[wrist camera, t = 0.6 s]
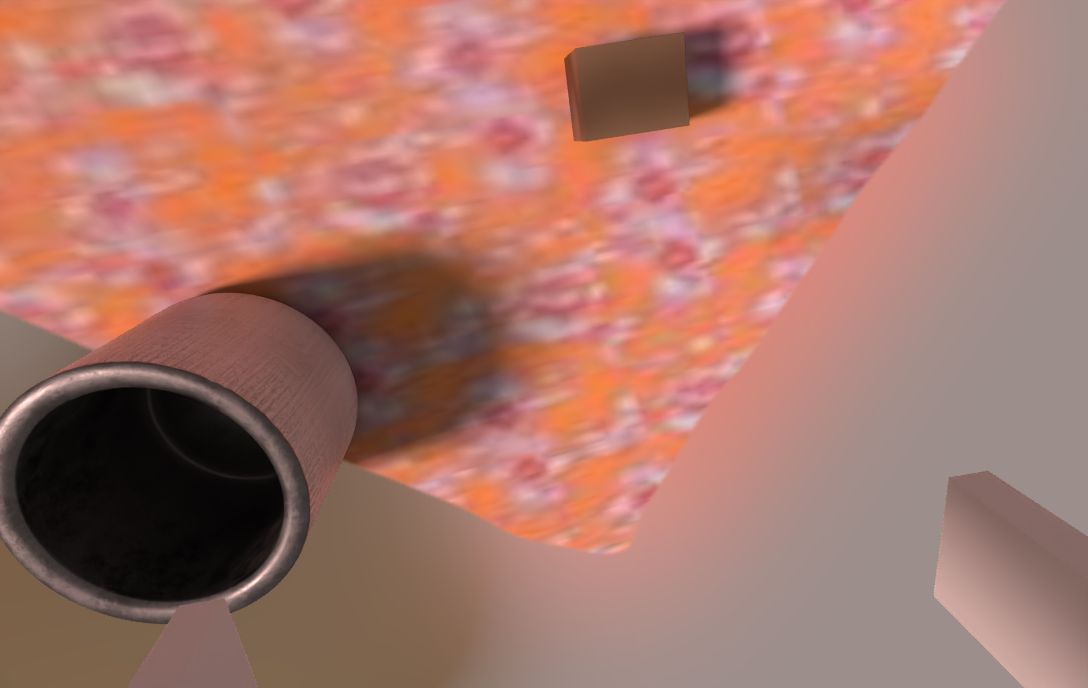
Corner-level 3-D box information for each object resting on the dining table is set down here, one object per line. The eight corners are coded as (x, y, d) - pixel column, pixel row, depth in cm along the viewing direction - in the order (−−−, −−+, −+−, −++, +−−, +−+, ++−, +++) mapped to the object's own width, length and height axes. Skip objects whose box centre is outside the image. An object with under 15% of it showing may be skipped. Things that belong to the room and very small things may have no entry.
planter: (373, 309, 34) (326, 387, 23) (349, 499, 38) (299, 640, 27) (132, 268, 32) (-39, 333, 21) (132, 473, 36) (-13, 615, 25)
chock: (563, 58, 31) (575, 48, 27) (659, 44, 31) (684, 32, 27) (573, 140, 32) (586, 141, 28) (664, 126, 32) (689, 125, 28)
